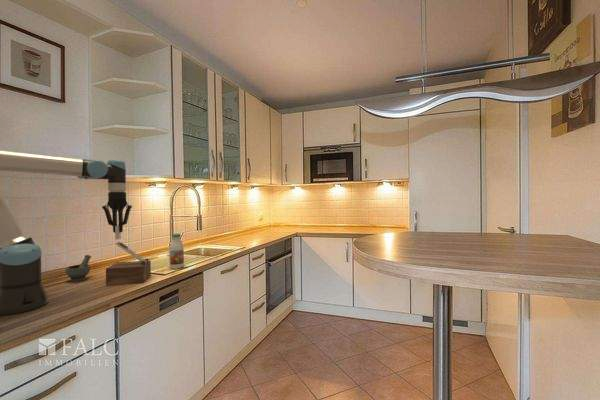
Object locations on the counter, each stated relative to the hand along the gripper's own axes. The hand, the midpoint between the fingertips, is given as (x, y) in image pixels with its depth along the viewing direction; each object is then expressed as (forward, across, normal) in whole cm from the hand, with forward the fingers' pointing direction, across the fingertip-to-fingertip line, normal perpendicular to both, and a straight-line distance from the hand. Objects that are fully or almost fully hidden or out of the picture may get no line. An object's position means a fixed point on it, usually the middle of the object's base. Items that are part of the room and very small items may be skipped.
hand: (118, 238), depth 142 cm
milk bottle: (+21, -24, -20) cm, 38 cm away
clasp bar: (+8, -6, 0) cm, 10 cm away
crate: (+21, -5, 0) cm, 22 cm away
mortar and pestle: (+21, +20, -8) cm, 30 cm away
